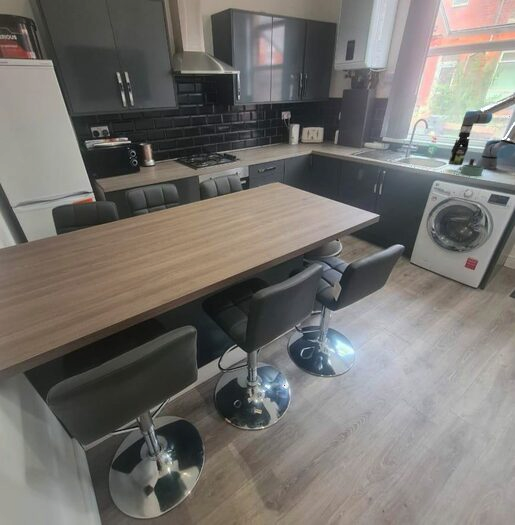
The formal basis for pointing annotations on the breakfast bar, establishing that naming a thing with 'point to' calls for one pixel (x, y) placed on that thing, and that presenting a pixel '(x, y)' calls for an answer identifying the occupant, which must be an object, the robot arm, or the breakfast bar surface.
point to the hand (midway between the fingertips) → (456, 160)
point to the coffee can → (458, 156)
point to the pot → (472, 170)
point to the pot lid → (469, 163)
